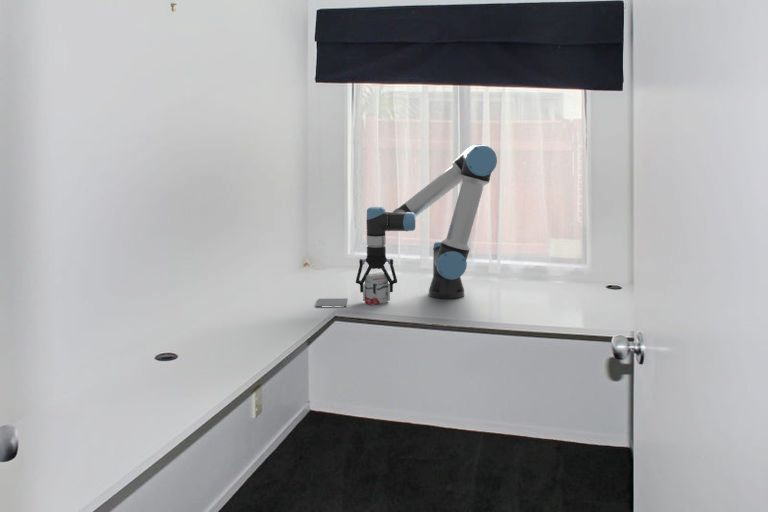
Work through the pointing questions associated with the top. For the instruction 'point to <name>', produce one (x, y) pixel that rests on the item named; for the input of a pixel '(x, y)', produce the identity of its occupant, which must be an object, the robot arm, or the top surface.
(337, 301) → the slate coaster
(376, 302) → the ink box
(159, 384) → the top surface
